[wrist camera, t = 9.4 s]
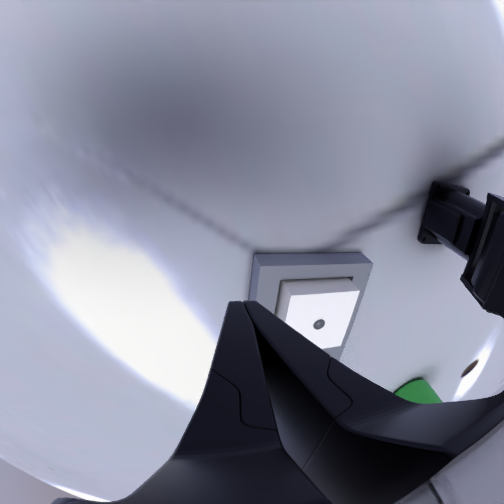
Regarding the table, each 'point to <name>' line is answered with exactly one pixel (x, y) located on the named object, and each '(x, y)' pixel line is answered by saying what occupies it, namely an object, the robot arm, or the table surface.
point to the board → (307, 277)
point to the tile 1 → (317, 308)
